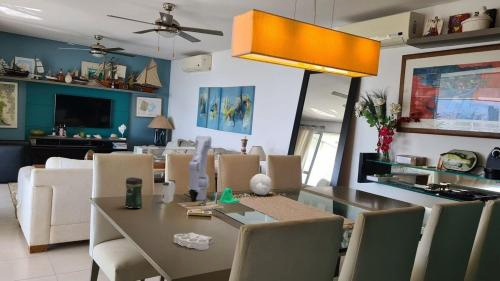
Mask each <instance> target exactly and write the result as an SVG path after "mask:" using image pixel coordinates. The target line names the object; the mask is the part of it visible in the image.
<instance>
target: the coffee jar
mask: <svg viewBox="0 0 500 281" xmlns="http://www.w3.org/2000/svg"><path fill="white" fill-rule="evenodd" d="M125 187H126V188H125V189H126V190H125V192H126V193H125V203H124V207H125V206H128V207H132V208H138V207H141V208H143V201H142V200H143V198H142V195H143V194H142V187H143V179H142V178H139V177H127V178H126V180H125Z"/></svg>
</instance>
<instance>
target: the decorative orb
mask: <svg viewBox="0 0 500 281" xmlns="http://www.w3.org/2000/svg"><path fill="white" fill-rule="evenodd" d="M249 187H250V189H251V191H252V192H253V193H254V194H256V195H259V196H265V195H267V194H268V193H270V191H271V188H272V179H271V177H270V176H268V175H266V174H264V173H257V174H255V175H254V176H252V178H251V179H250V181H249Z"/></svg>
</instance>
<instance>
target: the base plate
mask: <svg viewBox="0 0 500 281" xmlns="http://www.w3.org/2000/svg"><path fill="white" fill-rule="evenodd" d="M202 201H203V202H204V203H206V205H205V206H199V205H193V206H187V202H181V203H180V202H178V203H176V204H177V205H178V206H181V207H184V208H185V209H188V210H189V211H192V212H194V211H204V210H211V209H221V208H223V206H222V205H220V204H218V203H215V202H213V201H211V200H210V199H209V198H207V197H206V198H204V199H203V200H202Z"/></svg>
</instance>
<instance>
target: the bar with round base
mask: <svg viewBox="0 0 500 281" xmlns="http://www.w3.org/2000/svg"><path fill="white" fill-rule="evenodd" d="M186 203H187V206H193V205H199V206H205V205H206V203H204V202H203V200H196V201H195V202H192V201H186Z"/></svg>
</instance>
